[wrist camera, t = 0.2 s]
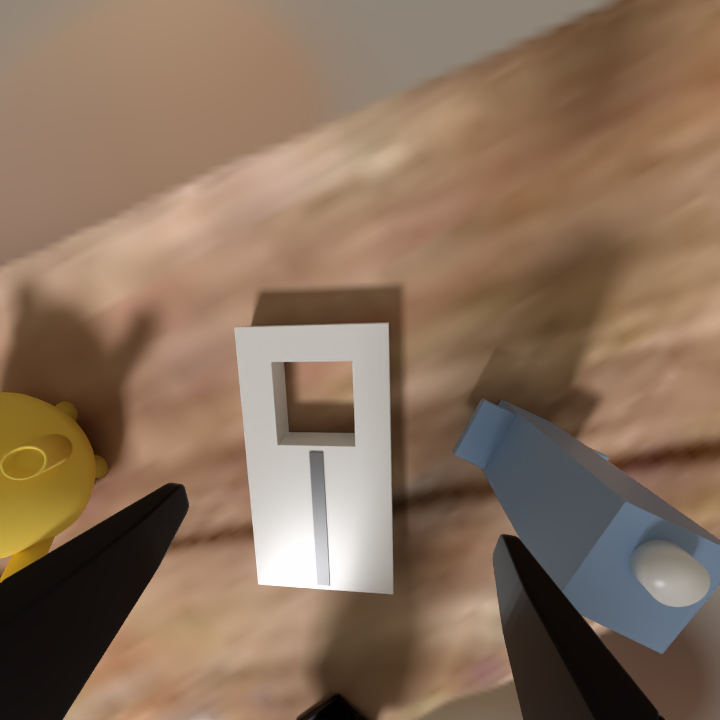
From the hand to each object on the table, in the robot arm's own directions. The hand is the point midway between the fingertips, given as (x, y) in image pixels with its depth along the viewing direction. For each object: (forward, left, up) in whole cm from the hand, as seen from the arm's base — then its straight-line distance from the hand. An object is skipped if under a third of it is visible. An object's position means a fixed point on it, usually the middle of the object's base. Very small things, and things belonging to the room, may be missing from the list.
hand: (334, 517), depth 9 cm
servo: (+5, -10, -15) cm, 19 cm away
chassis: (-7, -1, -15) cm, 17 cm away
